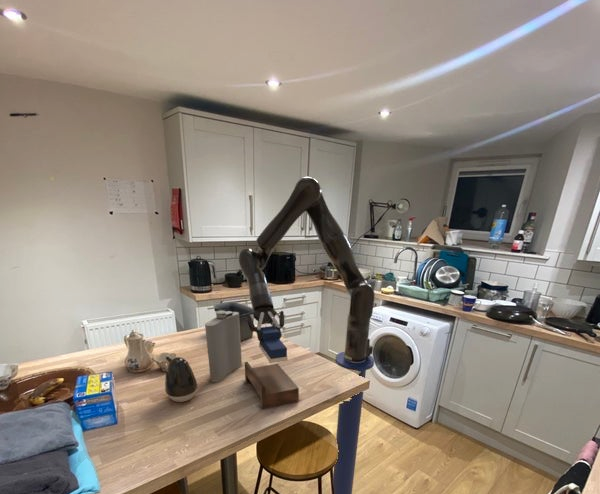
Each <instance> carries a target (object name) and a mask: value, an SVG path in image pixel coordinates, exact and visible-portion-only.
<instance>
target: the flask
mask: <svg viewBox="0 0 600 494" xmlns="http://www.w3.org/2000/svg"><path fill="white" fill-rule="evenodd" d="M215 315H216V316H215V317H214V318H212V319H210V320H208V321H207V322H205V323H204V327H205V328H204V329H205V338H206V348H207V357H208V366H209V367H208V368H209V377H210V381H211V382H212V383H219V382H221V381H222V380H223V379H224V378H225V377H226V376H227V375H229V374H230V373H232V372H233V371H235V370H237V369H239V368H241V367H242V366H243V361H242V359H243V358H242V342H241V341H242V340H240V322H239V313H238V312H231V311H227V312H226V311H215Z"/></svg>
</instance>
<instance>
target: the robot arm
mask: <svg viewBox="0 0 600 494" xmlns="http://www.w3.org/2000/svg"><path fill="white" fill-rule="evenodd" d="M304 213H306V214H307V216H308V218H309V219H310V220H311V223H312V225H313V227H314V230H315V233H316V236H317V238H318V240H319V243H320V245H321V247H322V249H323V252H324V253H325V254H326V257H327V259H328V260H329V261H330V263H331V265H332V266H333V267H334V269H335V270H336V272H337V273H338V274H339V276H340V278H341V280H342V282H343V284H344V287H345V289H346V292H347V295H348V298H349V299H350V301H349V310H348V314H347V315H346V316H347V317H346V331H345V343H344V352H345V353H344V360H345V361H347V362H349V363H354V364H360V363H364V362H365V361H366V360H368V357H369V356H371V355H372V354H373V352H374V351H373V350H374V347H373V346H372V345H371V343H370V342H371V340H370V338H369V335H370V334H369V333H370V325H371V318H372V316H373V312H374V311H373V310H374V305H375V290H374V288H373V287H372V286H371V285H370V284H369V283H368V282H367V280H366V279H365V277H364V276H363V274H362V273H361V271H360V269H359V267H358V266H357V262H356V258H355V256H354V253H353V250H352V247H351V245H350V243H349V240H348V238H347V237H346V235H345V232H344V231H343V229H342V227H341V226H340V224H339V223H338V221H337V220H336V219H335V217H334V216H333V214H332V213H331V211H330V209H329V207H328V205H327V202H326V200H325V198H324V194H323V193H322V187H321V185H320V183H319V182H318V180H317V179H316V178H314V177H312V176H303V177H301V178H300V179H298V181H297V182H296V183H295V186H294V189H293V190H292V192H291V194H290V196H289V198H288V199H287V201H286V202H285V204H284V205H283V206H282V208H281V209H280V210H279V212H278V213H277V214H276V215H275V216H274V217H273V219H272V220H270V222H269V223H268V224H267V225H266V226H265V227H264V229H262V231H261V233H260V234H259V235H258V237H257V238H256V241H255V242H256V245H257V247H259V249H258V250H257V251H255V250H254V249H252V248H250V247H249V248H248V247H245V248H243V249H241V250H240V252H239V254H238V264H239V266H240V269H241V271H242V273H243V275H244V277H245V279H246V281H247V286H248V290H249V291H248V293H249V300H250V303H251V308H253V314H251V315H250V314H247V316H246V320H247V323H248V325H249V328H250V330H251V331H252V332H253V333H256V336H257V340H258V341H259V343H260V342H263V335H262V331H261V330H260V329H261V327H262V325H266V324H267V325H269V324H270V325H271V326H275V328H276V329H277V330H278V331H279V339H280V340H281V338H282V337H283V336H282V330H281V329H283V328H284V326H285V312H284V311H283V310H281V311H276V310H275V308H274V307H275V306H274V303H273V299H272V295H271V291H270V290H271V289H270V288H269V285H268V282H267V278H266V275H265V273H264V272H263V271H262V270H264V269H265V267H266V265H267V263H268V261H269V259H270V256H271V254H272V252H273V250H275V248H276V247H277V246H278V244H279V243H280V242H281V241H282V239H284V237H285V236H286V234H287V233H288V232H289V230H290V229H291V228H292V226H293V225H294V224H295V222H296V221H297V220H298V219H299V218H300V217H301V216H302V215H303V214H304ZM253 317H254V320H256V322H257V324H256V326H255V324H254V322H253V321H252V320H253ZM276 317H277V318H278V320H277V319H276ZM278 321H279V322H278Z"/></svg>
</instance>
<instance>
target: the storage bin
mask: <svg viewBox="0 0 600 494" xmlns="http://www.w3.org/2000/svg"><path fill="white" fill-rule="evenodd" d="M212 307H213V310H214V312H216V311H226V312H227V311H231V312H238V313H239V322H240V340H241V341H244V340H248V339H250V338H252V337H253V336H254V331H253V332H252V331H251V330H250V328H249V325H248V323H247V320H246V316H247V314H250V315H251V314H253V308H252V306H249V305H245V304H242V303H239V302H237V301H226V302H225V301H224V302H222V303H218V304H213V306H212ZM254 320H255V318H254V317H253V320H252V321H253V323H254Z"/></svg>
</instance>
